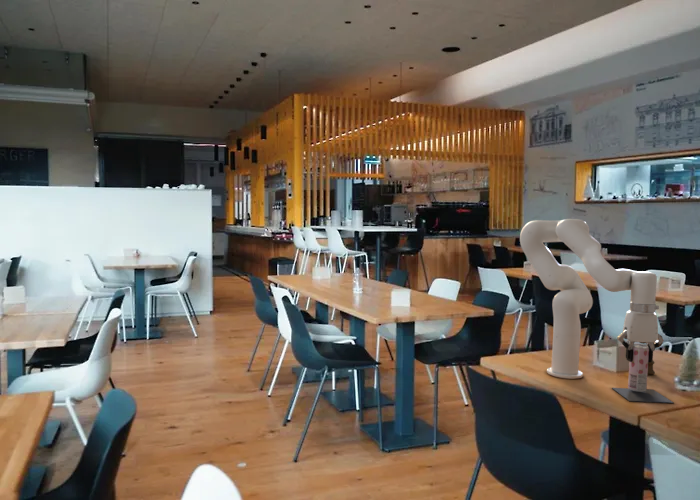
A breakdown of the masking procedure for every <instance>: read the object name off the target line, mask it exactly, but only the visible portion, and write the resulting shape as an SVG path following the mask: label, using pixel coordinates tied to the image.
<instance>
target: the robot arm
mask: <svg viewBox="0 0 700 500" xmlns="http://www.w3.org/2000/svg"><path fill="white" fill-rule="evenodd" d="M519 242H520V243H519V245H520V248H521V250H522V251H523V253H524V255H525V257H526V258H527V259H528V261H529V262H530V264H531V266H532V268H533V269H534V271H535V273H536V274H537V276H538V278H539V279H540V281H541V283H542V284H543V286H544V288H546V289H547V290H549V291H558V290H559V292H557V293H556V294H555V295H554V297H553V298H552V304H551V305H552V308H551V309H552V317H553V328H552V330H553V331H552V348H551V349H552V350H551V366H550V367H547V369H546V373H547V374H548V375H550V376H552V377H556V378H560V379H567V380H568V379H570V380H575V379H581V378H583V376H584V375H583V374H584V373H583V372H582V371H581V370H579V369H580V368H579V366H580V365H579V364H580V349H581V336H582V335H581V333H582V332H581V331H582V324H581V319H580V315H582V314H584V313H588V312H589V311H590V310H591V309H592V307H593V304H594V299H593V297H592V294H591V292H590V291H589V288H588V287H587V286H586V284H585V283H584V281H583V279H582V278H581V276H580V275H579V273H578V271H577V270H576V269H575V268H573V267H572V266H570V265H569V264H563V263H562V264H560V263H559V262H558V261H557V260H556V258H555V257H554V254H553V252H551V250H550V249H549V248H548V247H547V246H546V245H545V244H544V243H564V245H565V246H566V247H568V249H570V250H571V251H572V252H573V253H574V254H575V255H576V257H578V258H579V259H580V260H581V261H582V265H583V266H584V268H585V270H586V272H587V273H588V274H589V275H590V277H592V278H593V280H594V281H596V283H598V284H599V286H601V287H602V288H603V289H605V290H606V291H608V292H611V293H618V292H625V291H630V299H629V300H630V301H629V310H627V311H626V313H625V317H624V322H623V328H622V332H621V333H620V334H619V335H618V336H617V337H616V340H617V341H618V342H619V343H621V345H622V346H623V347H624V348H625V359H626V360H627V362H629V363H630V362H632V361H633V350H632V347H633V345H634V344H635V343H639V342H646V343H645V345H646V346H648V347H649V348H648V349H649V357H648V362H649V363H651V362H652V359H653V360H654V351H656V349H658V348H657V347H658V346H659V344H661V343H662V342H663V343H664V341H665V340H664V338H663V336H662V335H661V334H660V333H659V324H658V323H659V321H658V315H657V313H656V310H659V309H660V307H659V305H656V297H657V281H658V276H657V273H654V272H653V271H652V272H651V271H643V270H642V271H637V270H632V269H628V268H618V269H615V268H614V267H613V265H611V264H610V262H608V261H607V260H606V258H604V256H603V254H602V251H601V249H602V244H601V242H599V240H597V239H596V238H595V237H593V235H591V234H590V227H589V225H588V223H587V222H586V221H584V220H583V219H580V218H566V219H565V218H564V219H561V220H559V219H558V220H556V219H555V220H551V219H549V220H547V219H546V220H544V219H537V220H536V219H535V220H530V221H529V222H527V223H526V224H525V225H523V227H522V229H521V231H520V235H519ZM659 334H660V335H661V336H662V337H661V336H660V335H659ZM625 340H626V341H625ZM653 342H654V343H653ZM663 343H662V344H663Z"/></svg>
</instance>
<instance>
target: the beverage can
mask: <svg viewBox="0 0 700 500" xmlns="http://www.w3.org/2000/svg"><path fill="white" fill-rule="evenodd" d="M648 348H649V347H648V346H647V345H646V344H641V343H636V344H635V343H634V345H633V347H632V350H633V361H632V362H630V361H629V363H628V366H629V367H628V381H627V388H629V389H630V390H633V391H638V392H644V391H645V390H647V389H648V374H647V373H648V357H649V349H648Z"/></svg>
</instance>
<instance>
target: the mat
mask: <svg viewBox="0 0 700 500" xmlns="http://www.w3.org/2000/svg"><path fill="white" fill-rule="evenodd" d="M611 389H612V390H613V391H614V392H615V393H617V394H618V395H620V396H621V397H622V398H623V399H625V400H626V401H628V402H629V403H652V404H675V403H674V402H673V401H672V400H671V399H669V398H668V397H666V396H664V395H662V393H659V392H658V391H656V390H655V389H650V388H649V389H648V388H647V390H645V391H644V392H638V391H633V390H630V389H629V388H628V387H627V388H625V387H612V388H611Z"/></svg>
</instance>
